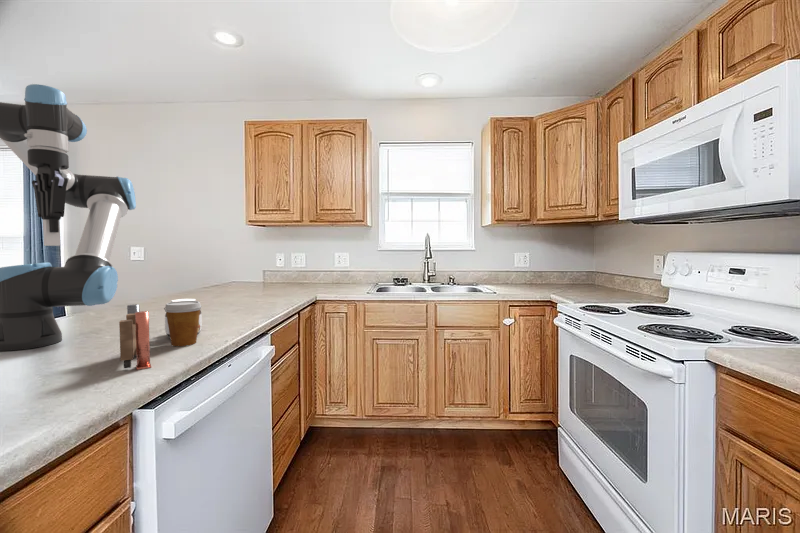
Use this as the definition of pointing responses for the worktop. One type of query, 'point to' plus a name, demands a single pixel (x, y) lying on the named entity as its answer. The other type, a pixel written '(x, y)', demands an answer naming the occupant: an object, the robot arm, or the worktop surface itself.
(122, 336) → the gate
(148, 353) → the gate posts
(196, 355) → the worktop surface
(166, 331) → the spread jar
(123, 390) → the worktop surface
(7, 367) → the worktop surface
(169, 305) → the disposable coffee cup
